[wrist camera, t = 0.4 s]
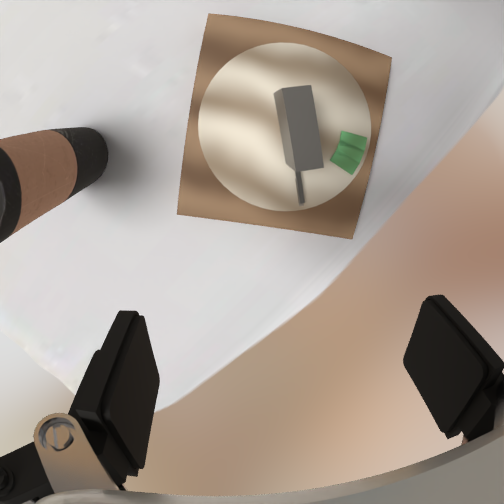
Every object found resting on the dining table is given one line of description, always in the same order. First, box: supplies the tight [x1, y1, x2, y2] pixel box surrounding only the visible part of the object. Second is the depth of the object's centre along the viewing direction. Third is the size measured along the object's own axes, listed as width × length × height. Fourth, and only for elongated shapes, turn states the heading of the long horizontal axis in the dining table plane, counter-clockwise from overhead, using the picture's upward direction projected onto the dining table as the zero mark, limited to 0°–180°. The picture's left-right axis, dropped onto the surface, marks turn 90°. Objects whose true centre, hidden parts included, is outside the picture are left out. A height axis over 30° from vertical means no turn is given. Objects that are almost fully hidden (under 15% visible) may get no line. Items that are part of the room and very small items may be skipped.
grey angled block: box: [273, 85, 324, 204], centre depth 27 cm, size 12×2×6 cm, turn 11°
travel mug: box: [0, 127, 108, 243], centre depth 23 cm, size 8×8×20 cm
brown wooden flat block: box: [177, 14, 392, 239], centre depth 30 cm, size 22×20×4 cm
